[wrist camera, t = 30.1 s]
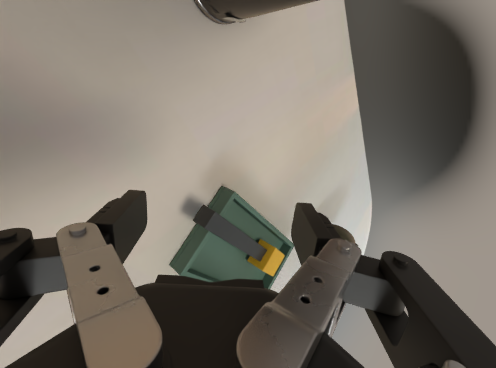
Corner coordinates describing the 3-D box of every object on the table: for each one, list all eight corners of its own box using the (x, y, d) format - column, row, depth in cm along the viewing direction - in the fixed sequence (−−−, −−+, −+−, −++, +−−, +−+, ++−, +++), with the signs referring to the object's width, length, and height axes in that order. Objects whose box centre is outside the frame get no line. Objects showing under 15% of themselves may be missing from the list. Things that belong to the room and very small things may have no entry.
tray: (169, 264, 36) (179, 275, 34) (221, 185, 39) (234, 191, 37) (251, 296, 53) (261, 304, 51) (283, 239, 56) (294, 245, 54)
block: (187, 227, 32) (205, 240, 30) (207, 197, 33) (227, 207, 31) (258, 267, 50) (273, 276, 48) (270, 246, 51) (285, 255, 49)
